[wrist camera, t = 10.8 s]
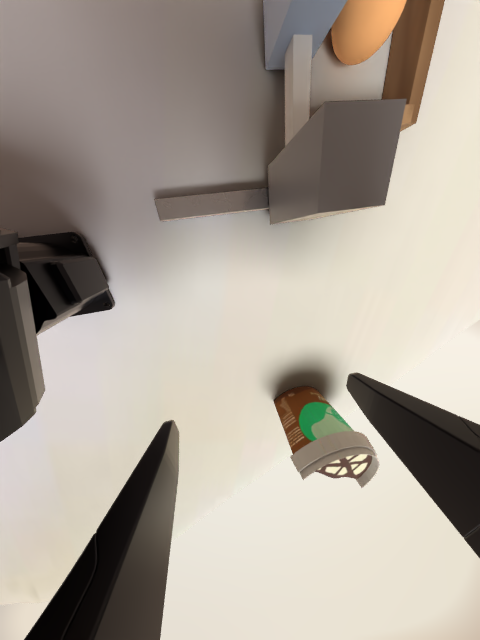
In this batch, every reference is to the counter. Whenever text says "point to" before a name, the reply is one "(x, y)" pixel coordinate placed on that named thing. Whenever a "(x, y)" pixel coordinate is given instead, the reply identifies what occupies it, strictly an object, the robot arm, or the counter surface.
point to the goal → (412, 55)
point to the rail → (212, 204)
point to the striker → (323, 125)
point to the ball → (364, 28)
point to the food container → (324, 438)
